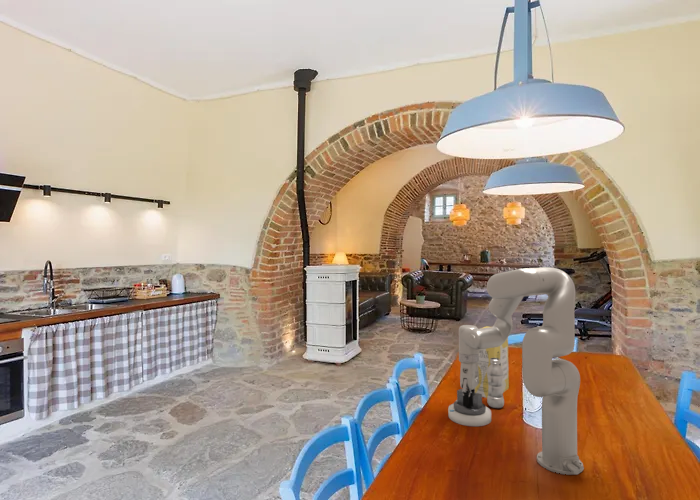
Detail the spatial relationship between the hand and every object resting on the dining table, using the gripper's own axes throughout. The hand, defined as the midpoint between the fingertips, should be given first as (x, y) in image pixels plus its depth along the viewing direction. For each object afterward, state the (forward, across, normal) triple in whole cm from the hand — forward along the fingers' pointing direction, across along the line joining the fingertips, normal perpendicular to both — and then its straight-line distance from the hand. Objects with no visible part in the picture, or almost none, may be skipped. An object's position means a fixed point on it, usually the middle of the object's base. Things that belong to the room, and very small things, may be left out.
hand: (469, 403), depth 159 cm
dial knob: (+2, 0, 0) cm, 2 cm away
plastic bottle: (+5, +16, -6) cm, 18 cm away
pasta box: (+6, +34, 0) cm, 34 cm away
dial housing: (+5, 0, 0) cm, 5 cm away
